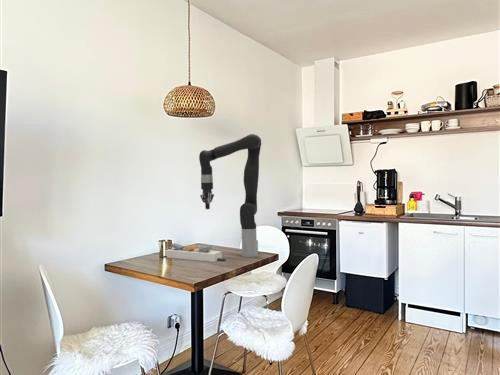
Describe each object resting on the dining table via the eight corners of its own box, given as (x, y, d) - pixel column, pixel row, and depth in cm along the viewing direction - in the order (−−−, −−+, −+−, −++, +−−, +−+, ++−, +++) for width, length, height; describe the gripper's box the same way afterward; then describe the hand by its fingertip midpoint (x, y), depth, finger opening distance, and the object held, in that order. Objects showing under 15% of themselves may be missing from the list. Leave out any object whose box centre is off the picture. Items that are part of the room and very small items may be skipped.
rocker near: (212, 248, 218) (211, 245, 218) (208, 249, 215) (208, 247, 215) (202, 250, 221) (202, 247, 221) (199, 251, 218) (198, 249, 218)
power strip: (228, 259, 216) (228, 251, 216) (221, 262, 208) (221, 253, 208) (171, 254, 235) (170, 246, 235) (162, 256, 227) (161, 249, 227)
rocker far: (183, 248, 228) (183, 246, 228) (179, 250, 224) (179, 247, 224) (174, 245, 231) (174, 243, 231) (170, 246, 227) (170, 244, 227)
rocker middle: (197, 247, 223) (197, 245, 223) (193, 249, 219) (193, 246, 220) (188, 248, 226) (187, 246, 226) (184, 249, 223) (183, 247, 223)
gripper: (206, 182, 223) (206, 210, 223) (217, 181, 235) (218, 208, 235) (196, 182, 226) (196, 210, 226) (207, 181, 238) (208, 208, 238)
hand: (207, 209), depth 231 cm, fingers closed
